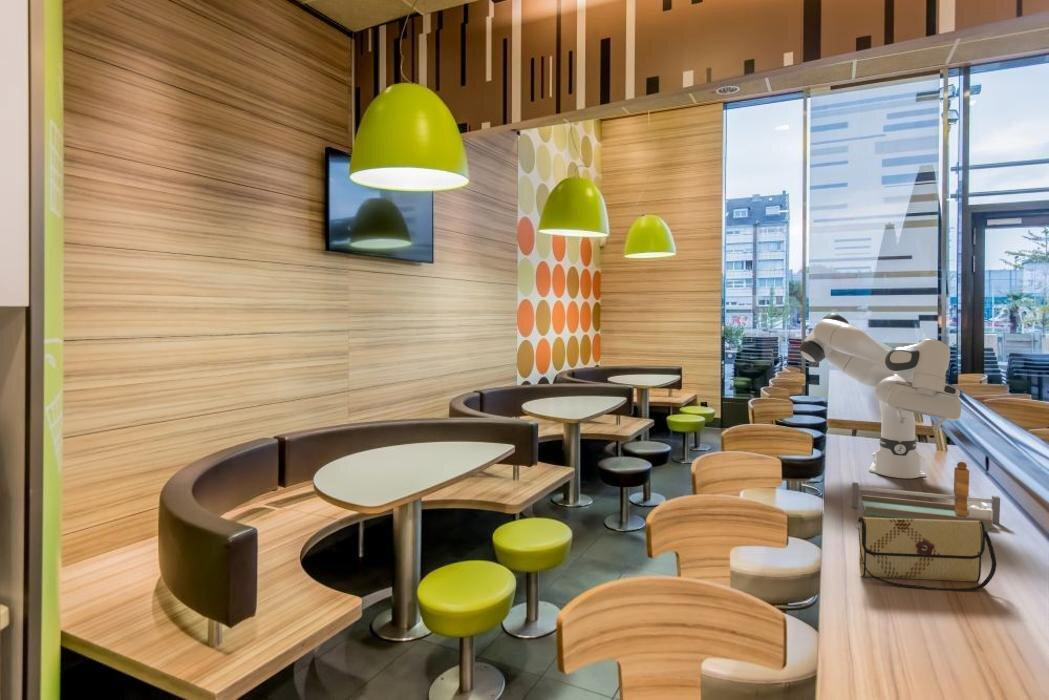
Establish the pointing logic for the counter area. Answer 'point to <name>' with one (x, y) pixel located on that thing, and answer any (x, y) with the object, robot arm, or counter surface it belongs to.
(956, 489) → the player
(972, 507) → the ball
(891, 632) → the counter surface
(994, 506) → the pitch
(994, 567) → the clutch purse
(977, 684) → the counter surface
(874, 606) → the counter surface
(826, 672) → the counter surface
